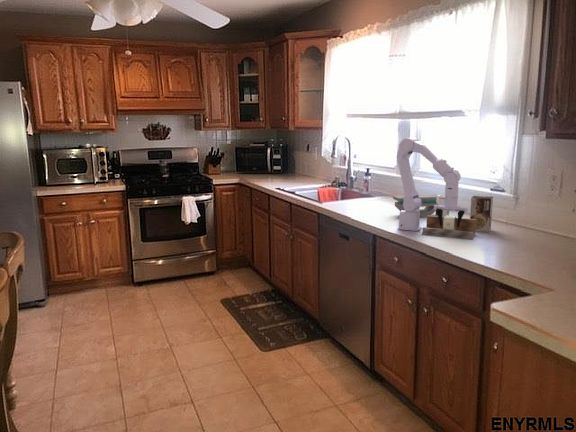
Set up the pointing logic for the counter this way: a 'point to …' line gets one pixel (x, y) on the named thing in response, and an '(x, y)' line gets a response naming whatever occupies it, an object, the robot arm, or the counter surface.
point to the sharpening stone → (426, 201)
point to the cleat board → (462, 232)
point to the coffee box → (482, 212)
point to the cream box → (449, 222)
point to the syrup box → (440, 201)
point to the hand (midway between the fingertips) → (449, 226)
